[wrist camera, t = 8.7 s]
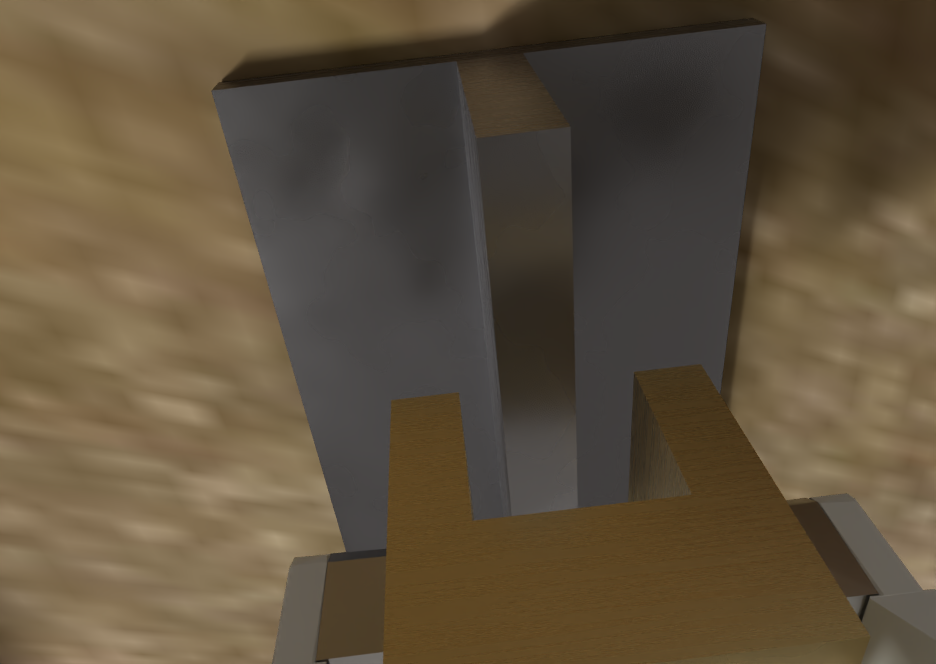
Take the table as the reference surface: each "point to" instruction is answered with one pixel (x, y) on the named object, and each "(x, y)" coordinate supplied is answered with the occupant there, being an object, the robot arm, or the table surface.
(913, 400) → the table surface
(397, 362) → the rail
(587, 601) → the clip
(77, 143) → the table surface
